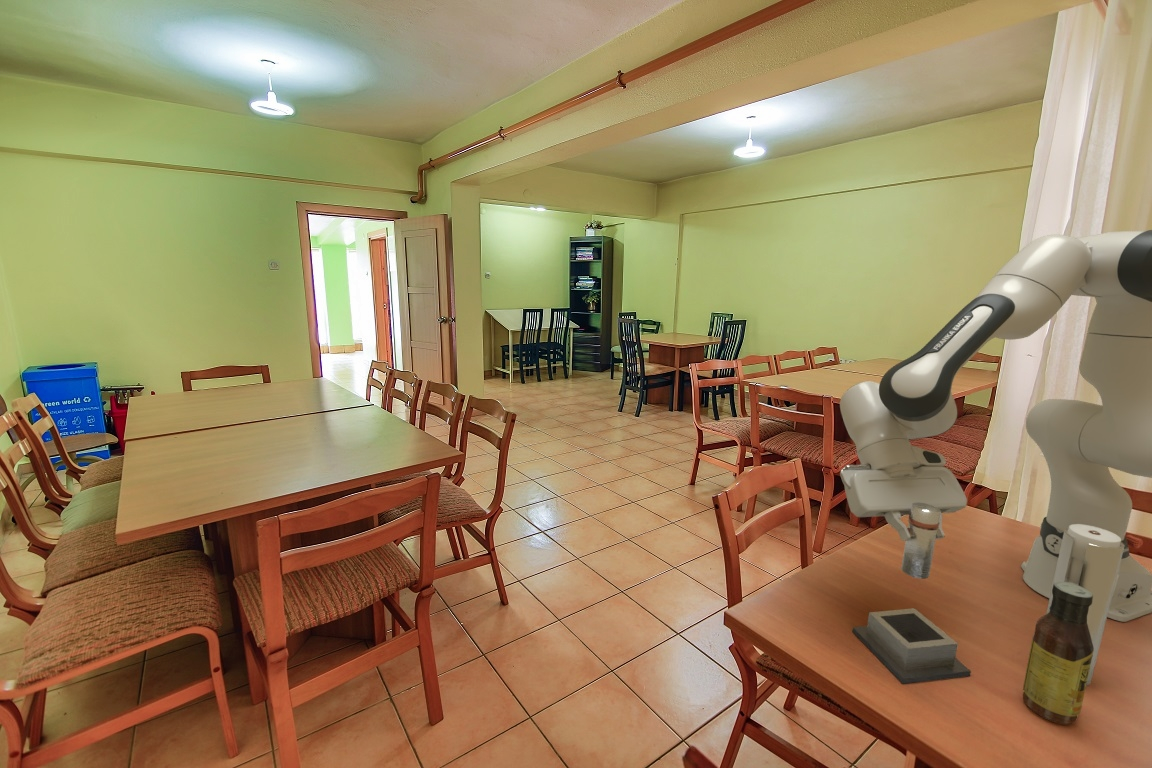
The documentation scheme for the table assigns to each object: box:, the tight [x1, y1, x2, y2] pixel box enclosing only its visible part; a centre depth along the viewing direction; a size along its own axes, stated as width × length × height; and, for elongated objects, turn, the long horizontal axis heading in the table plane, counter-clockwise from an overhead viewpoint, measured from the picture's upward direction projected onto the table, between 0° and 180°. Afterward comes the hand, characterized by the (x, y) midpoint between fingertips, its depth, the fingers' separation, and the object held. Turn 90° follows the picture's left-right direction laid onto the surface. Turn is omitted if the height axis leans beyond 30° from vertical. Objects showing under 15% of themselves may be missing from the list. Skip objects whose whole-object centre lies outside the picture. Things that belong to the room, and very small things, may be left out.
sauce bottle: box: [1022, 582, 1094, 726], centre depth 72 cm, size 6×6×20 cm
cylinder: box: [900, 503, 941, 580], centre depth 84 cm, size 4×4×12 cm
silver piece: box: [1046, 524, 1124, 687], centre depth 78 cm, size 6×6×25 cm
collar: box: [852, 607, 972, 685], centre depth 85 cm, size 12×12×5 cm
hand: (923, 539), depth 83 cm, fingers closed on cylinder, 4 cm apart
